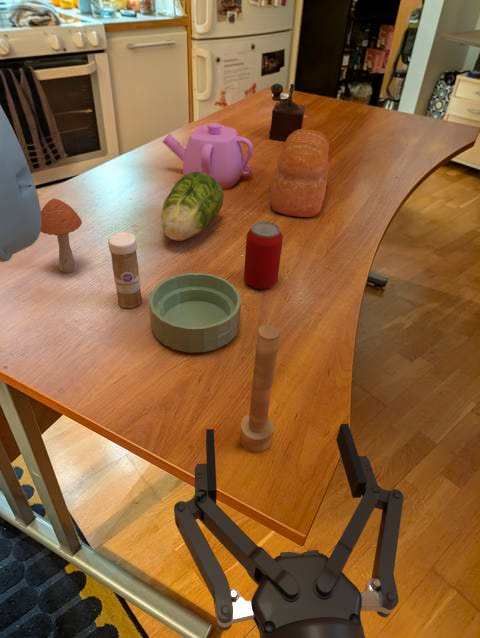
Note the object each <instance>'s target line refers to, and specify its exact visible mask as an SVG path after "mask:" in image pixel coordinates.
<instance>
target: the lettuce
mask: <svg viewBox="0 0 480 638" xmlns="http://www.w3.org/2000/svg"><path fill="white" fill-rule="evenodd" d="M224 196H225V195H224V192H223V189H221V186H220V185H219V184H218V182H217V181H216V180H215V179H214V178H213V177H211V176H210V175H208V174H206V173H202V172H193V173H189V174H187V175H185V176H184V175H183V176H182V177H180V179H178V180H177V181H176V182H175V184H174V185H173V187H172V188H171V191H170V193H169V194H168V195H167V197H166V198H165V200H164V202H163V205H162V208H161V209H162V210H161V216H160V217H161V226H162V231H163V232H164V234H165V235H166V237H168V238H169V239H171V240H173V241H176V242H177V241H179V242H181V241H182V242H183V241H185V240H187V239H191V238H193V237H195V236H198V235H199V234H200V233H201V232H202V231H203V230H204V229H205V228H206V227H208V226H209V225H210V224H211V223H212V222H213V221H214V219H215V217H216V216H217V215H216V214H217V213H219V212H220V210H221V208H222V206H224Z"/></svg>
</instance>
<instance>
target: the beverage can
mask: <svg viewBox="0 0 480 638" xmlns="http://www.w3.org/2000/svg"><path fill="white" fill-rule="evenodd" d="M283 236H284V235H283V234H282V231H281V228H280V226H279V225H278V224H276V223H275V222H272V221H265V220H264V221H263V220H261V221H257V222H254V223H252V225H251V227H250V229H249V230H248V231H247V233H246V241H245V253H244V269H243V279H244V282H245V283H246V284H247V285H248V286H250V287H253V288H255V289H259V290H263V289H269V288H272V287H274V286H275V285H276V284H277V283H278V277H279V273H280V272H279V271H280V266H281V265H280V264H281V258H282V257H281V256H282V249H283V248H282V247H283V241H284V240H283V239H284V237H283Z"/></svg>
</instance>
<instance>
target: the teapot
mask: <svg viewBox="0 0 480 638" xmlns="http://www.w3.org/2000/svg"><path fill="white" fill-rule="evenodd" d="M162 143H163V144H164V145H165V146H166V147H167V148H168V149H169V150H170V151H171V152H172V153H173V154H175V155H176V156H177V158H179V159H180V160H181V161H182V173H183V176H185V175H187V174H189V173H193V172H202V173H206V174H208V175H210V176H211V177H213V178H214V179H215V180H216V181H217V182H218V184H219V185H220V186H221V189H222V190H224V189H225V190H227V189H230V188H231V189H232V187H234V186H235V185H236V184H237V183H238V181H240V179H241V178H242V175H243V176H249V175H250V174H252V172H253V167H252V165H251V164H250V163H248V162H249V161H250V158H251V156H252V154H253V151H254V146H253V143H252V141H251V140H250V139H248V138H247V137H246V136H239V134H238V131H237V130H236V129H235V128H234V127H229V126H224V125H223V124H221V123H219V122H209V123H207V124H201V125H199V126H197V127H195V128H194V129H193V130H192V131H191V133H190V135H189V137H188V141H187V143H186V146H185V147H184V146H183V145H182V144H181V143H180V142H179V141H178V140H177V139H176V138H175V137H174V136H173V135H172V134H171V133H168V135H167V136H166V137H165V138H164V139H163V140H162ZM242 143H243V144H245V145H246V146H247V153H246V156H245V157H244V154H243V153H244V152H243V148H242ZM246 168H247V169H248V170H246Z"/></svg>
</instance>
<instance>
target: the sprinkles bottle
mask: <svg viewBox="0 0 480 638" xmlns="http://www.w3.org/2000/svg"><path fill="white" fill-rule="evenodd" d="M107 242H108V243H107V245H108V250H109V253H110V256H111V266H112V272H113V278H114V279H113V280H114V285H115V290H116V295H117V296H116V297H117V298H116V299H117V300H116V301H117V305H119V307H121V308H123V309H134V308H137V307H138V306H140V305H141V304H142V301H143V297H142V291H141V290H142V289H141V278H140V277H141V276H140V269H139V261H138V255H137V254H138V253H137V248H138V243H137V238H136V236H135V235H134V234H132V233H130V232H124V231H123V232H122V231H121V232H116V233H113V234H112V235H110V236H108V240H107Z"/></svg>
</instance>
